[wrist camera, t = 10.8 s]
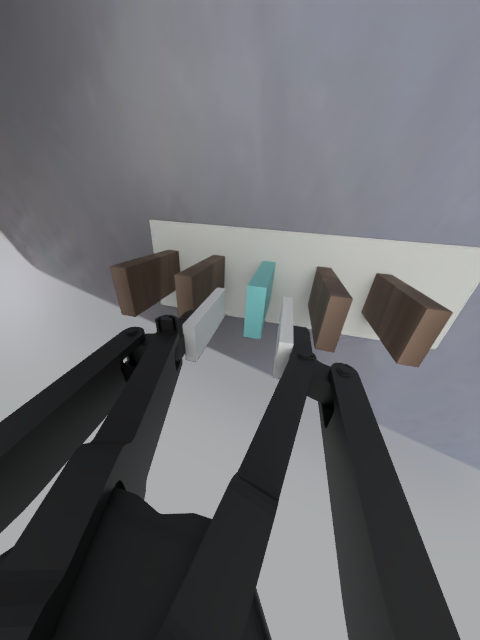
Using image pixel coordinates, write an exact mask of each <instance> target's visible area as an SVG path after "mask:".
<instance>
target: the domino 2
mask: <svg viewBox="0 0 480 640" xmlns="http://www.w3.org/2000/svg"><path fill="white" fill-rule="evenodd" d="M174 277H175V288H176V298H177V308H178V319H179V318H180V317H181V316H182V315H183V314H184V313H185V312H187V311H189V310H197V309H198V307H199V306H200V305H201V304H202V303H203V302H204V301H205V300H206V299H207V298H208V297H209V296H210V295H211V293H212V292H213V291H214V290H215V289H216V288H224V282H225V256H220V255H212V256H210V257H208V258H206V259H204V260H202V261H200V262H198V263H196V264H195V265H193V266H191V267H189V268H187V269H185V270H183V271H181V272H179V273H177V274H175V275H174Z"/></svg>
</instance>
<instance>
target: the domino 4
mask: <svg viewBox="0 0 480 640" xmlns="http://www.w3.org/2000/svg"><path fill="white" fill-rule="evenodd" d="M352 301H353V298H352V297H351V295H350V294H349V292H348V291H347V290H346V288H345V287H344V285H343V284H342V282H341V281H340V280H339V278H338V277H337V275H336V274H335V273H334V271H333V270H332V268H328V267H319V266H317V269H316V273H315V277H314V281H313V285H312V289H311V293H310V298H309V302H308V309H309V315H310V321H311V328H312V334H313V340H314V346H315V349H318V350H324V351H329V352H334V351H335V348H336V346H337V343H338V340H339V337H340V334H341V332H342V329H343V326H344V323H345V320H346V318H347V315H348V312H349V309H350V306H351V304H352Z"/></svg>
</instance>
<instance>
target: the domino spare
mask: <svg viewBox="0 0 480 640" xmlns="http://www.w3.org/2000/svg"><path fill="white" fill-rule="evenodd" d="M275 265H276V262H270V261H263V262H262V263H261V265H260V266H259V268H258V269H257V271H256V273H255V274H254V276H253V277H252V279H251V281H250V282H249V284H248V285H247V297H246V309H245V321H244V333H243V337H249V338H254V339H260V338H261V334H262V330H263V327H264V323H265V319H266V315H267V311H268V307H269V304H270V300H271V293H272V286H273V279H274V272H275Z"/></svg>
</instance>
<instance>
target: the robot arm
mask: <svg viewBox="0 0 480 640" xmlns="http://www.w3.org/2000/svg"><path fill="white" fill-rule="evenodd" d="M224 317H225V288H216V289H215V290H214V291H213V292H212V293H211V295H210V296H209V297H208V298H207V299H206V300H205V301H204V302H203V303H202V304H201V305H200V306H199V307H198V309H197V310H189V311H187V312H185V313H184V314H183V315H182V316H181V317H180V318H179V319H178V318H177V317H176V316H173V315H163V316H160V317H158V318H156V319H155V322H156V327H157V332H156V333H155V334H145V332H144V329H143V328H140V327H130V328H128V329H125V330H123V331H122V332H121V333H119V334H118V335H116V337H114V338H112V339H111V340H110V341H108V342H107V343H106V344H104V345H103V346H102V347H100V348H99V349H98V350H96V351H95V352H94V353H92V354H91V355H90V356H88V357H87V358H86V359H85V360H83V361H82V362H80V363H79V364H78V365H76V366H75V367H74V368H72V369H71V370H70V371H68V372H67V373H66V374H64V375H63V376H62V377H60V378H59V379H57V380H56V381H55V382H53V383H52V384H51V385H49V386H48V387H47V388H46V389H44V390H43V391H41V392H40V393H39V394H37V395H36V396H35V397H33V398H32V399H31V400H29V401H28V402H27V403H25V404H24V405H23V406H21V407H20V408H19V409H17V410H16V411H15V412H13V413H12V414H11V415H9V416H8V417H7V418H5V419H4V420H3V421H1V422H0V533H1V532H2V531H3V530H4V529H5V528H6V527H7V526H8V525H9V524H10V523H11V522H12V521H13V520H14V519H15V518H17V517H18V516H19V515H20V514H21V512H23V511H24V510H25V508H26V507H27V506H28V505H29V504H30V503H31V502H32V501H33V500H34V499H35V498H36V497H37V495H38V494H39V493H40V492H41V491H42V490H43V489H44V487H45V486H46V485H47V484H48V483H49V482H50V481H51V479H52V478H53V477H54V476H55V475H56V473H57V472H58V471H59V470H60V469H61V468H62V467H63V466H64V464H65V463H66V462H67V461H68V460H69V461H68V462H67V464H66V465H65V467H64V469H63V470H62V472H61V473H60V475H59V477H58V478H57V480H56V481H55V483H54V484H53V486H52V487H51V489H50V491H49V492H48V494H47V495H46V497H45V499H44V500H43V501H42V503H41V505H40V506H39V508H38V510H37V511H36V512H35V514H34V516H33V517H32V519H31V521H30V522H29V524H28V525H27V527H26V528H25V530H24V531H23V533H22V535H21V536H20V538H19V539H18V541H17V542H16V544H15V546H14V547H12V548H11V549H9V550H8V551H6V552H5V553H3V554H2V555H0V640H271V636H270V633H269V629H268V626H267V623H266V619H265V616H264V613H263V609H262V606H261V603H260V599H259V596H258V593H257V589H256V585H257V581H258V578H259V573H260V570H261V567H262V563H263V559H264V555H265V552H266V548H267V544H268V540H269V537H270V533H271V529H272V525H273V522H274V518H275V514H276V510H277V506H278V501H279V496H280V493H281V489H282V485H283V481H284V478H285V474H286V470H287V466H288V463H289V459H290V456H291V452H292V448H293V445H294V441H295V437H296V433H297V430H298V426H299V422H300V419H301V415H302V411H303V407H304V404H305V400H306V396H308V397H310V398H312V399H314V400H317V401H318V404H319V413H320V420H321V428H322V437H323V445H324V453H325V462H326V470H327V478H328V486H329V494H330V502H331V511H332V518H333V526H334V535H335V543H336V550H337V560H338V568H339V575H340V584H341V592H342V600H343V607H344V614H345V620H346V626H347V632H348V638H349V640H460V637H459V635H458V632H457V629H456V627H455V624H454V622H453V619H452V616H451V614H450V611H449V609H448V606H447V603H446V601H445V598H444V596H443V593H442V590H441V588H440V585H439V583H438V580H437V577H436V575H435V572H434V570H433V567H432V564H431V562H430V559H429V557H428V554H427V551H426V549H425V546H424V544H423V541H422V538H421V536H420V533H419V531H418V528H417V525H416V523H415V520H414V518H413V515H412V512H411V510H410V507H409V505H408V502H407V499H406V497H405V494H404V492H403V489H402V486H401V484H400V481H399V479H398V476H397V473H396V471H395V468H394V466H393V463H392V460H391V458H390V455H389V453H388V450H387V447H386V445H385V442H384V440H383V437H382V435H381V432H380V429H379V427H378V424H377V421H376V419H375V416H374V414H373V411H372V408H371V406H370V403H369V401H368V398H367V395H366V393H365V390H364V388H363V385H362V382H361V380H360V377H359V375H358V373H357V371H356V370H355V369H354V368H352V367H351V366H349V365H347V364H343V363H334V364H333V365H332V366H331V367H330V366H327V365H325V364H322V363H320V362H319V361H317V360H316V356H315V354H314V353H312V347H311V341H310V333H309V331H308V329H307V328H306V327H301V326H294V325H293V298H291V297H284V296H283V302H282V307H281V313H280V319H279V324H278V333H277V342H276V351H275V360H274V369H273V378H277V379H280V381H279V383H278V385H277V387H276V389H275V392H274V394H273V396H272V398H271V401H270V403H269V405H268V407H267V409H266V412H265V414H264V416H263V418H262V420H261V422H260V425H259V427H258V429H257V431H256V434H255V435H254V438H253V440H252V442H251V444H250V446H249V449H248V451H247V453H246V455H245V458H244V460H243V462H242V464H241V466H240V468H239V470H238V472H237V473H236V474H235V475H234V476H233V478H232V479H231V481H230V483H229V485H228V487H227V489H226V492H225V493H224V495H223V498H222V500H221V502H220V504H219V506H218V508H217V510H216V513H215V515H214V517H213V519H210V518H207V517H204V516H201V515H198V514H194V513H187V514H160V513H158V512H157V511H156V510H154V509H153V508H152V507H151V506H150V505H149V504H148V503H146V502H145V501H144V497H145V492H146V480H147V476H148V472H149V469H150V466H151V462H152V459H153V456H154V453H155V450H156V447H157V443H158V440H159V436H160V434H161V431H162V427H163V424H164V421H165V418H166V414H167V411H168V408H169V405H170V402H171V398H172V395H173V392H174V389H175V386H176V382H177V379H178V376H179V373H180V370H181V366H182V357H183V355H184V354H185V356H186V360H188V361H193V362H197V361H198V359H199V358H200V356H201V354H202V353H203V351H204V349H205V348H206V346H207V344H208V343H209V341H210V340H211V338H212V336H213V335H214V333H215V331H216V330H217V328H218V326H219V325H220V323H221V322H222V320H223V318H224ZM126 357H127V361H126V362H125V363H123V360H124V359H125V358H126ZM107 415H108V416H107ZM106 416H107V418H106V419H105V417H106ZM104 419H105V421H104V422H103V424H102V426H101V427H100V429H99V431H98V433H97V434H96V436H95V438H94V439H93V440H92V441H91V442H90V443H87V444H83V443H84V442H85V440H86V439H87V438H88V437H89V436H90V435H91V433H92V432H93V431H94V430H95V429H96V428H97V427H98V425H99V424H100V423H101V422H102V421H103V420H104Z"/></svg>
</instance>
